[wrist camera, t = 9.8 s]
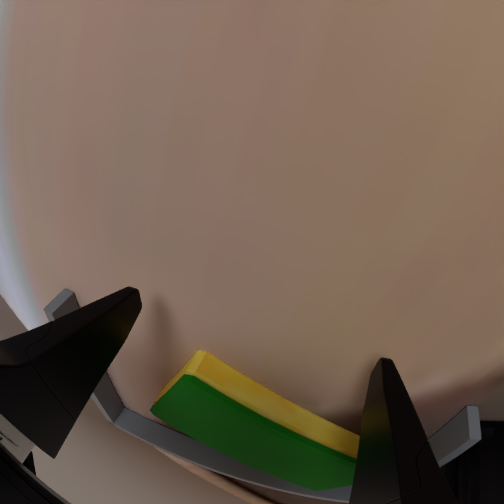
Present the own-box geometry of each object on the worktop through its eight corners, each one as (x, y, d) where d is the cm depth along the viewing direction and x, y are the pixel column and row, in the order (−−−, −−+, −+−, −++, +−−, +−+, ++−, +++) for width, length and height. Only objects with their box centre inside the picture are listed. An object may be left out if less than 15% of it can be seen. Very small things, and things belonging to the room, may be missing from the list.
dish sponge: (322, 466, 19) (315, 492, 17) (164, 384, 18) (147, 412, 16) (394, 444, 15) (390, 477, 13) (204, 340, 14) (182, 379, 12)
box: (478, 406, 11) (481, 439, 9) (370, 485, 19) (366, 504, 17) (65, 288, 16) (43, 308, 14) (119, 407, 24) (109, 422, 22)
